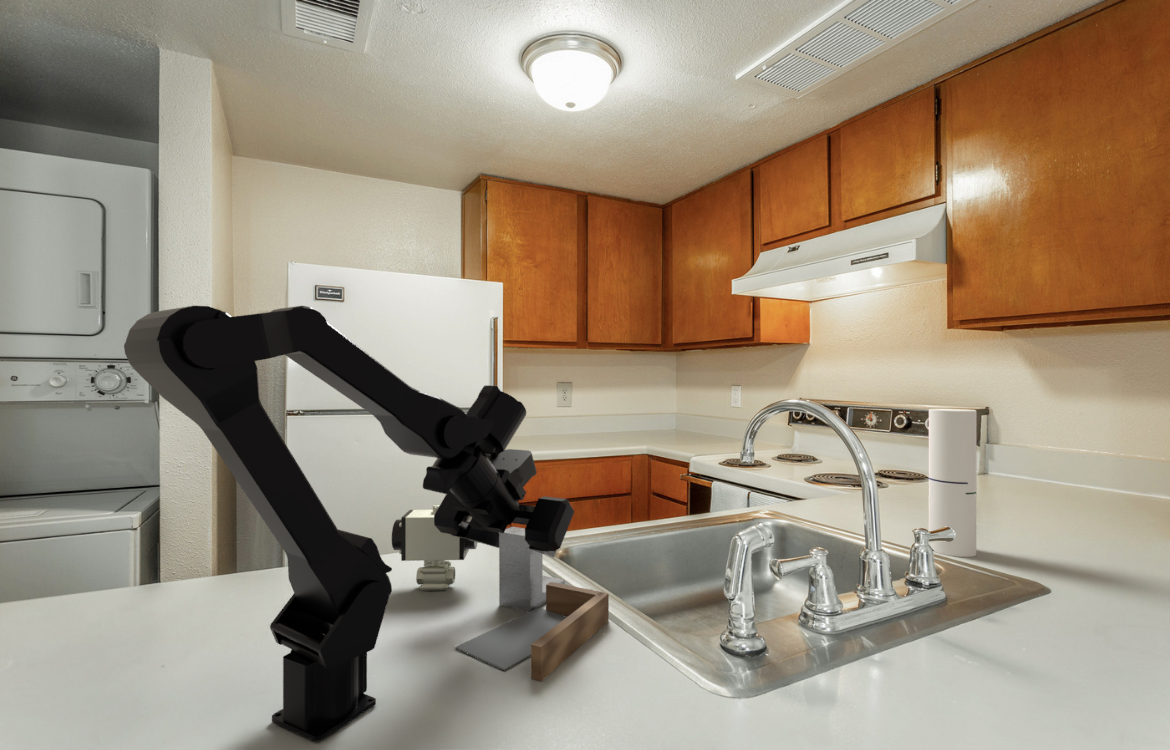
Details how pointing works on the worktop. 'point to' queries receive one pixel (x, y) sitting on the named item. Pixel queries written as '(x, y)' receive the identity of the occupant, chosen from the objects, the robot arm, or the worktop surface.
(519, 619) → the mat
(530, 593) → the bracket
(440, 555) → the pneumatic valve
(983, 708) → the worktop surface
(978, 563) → the worktop surface
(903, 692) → the worktop surface
